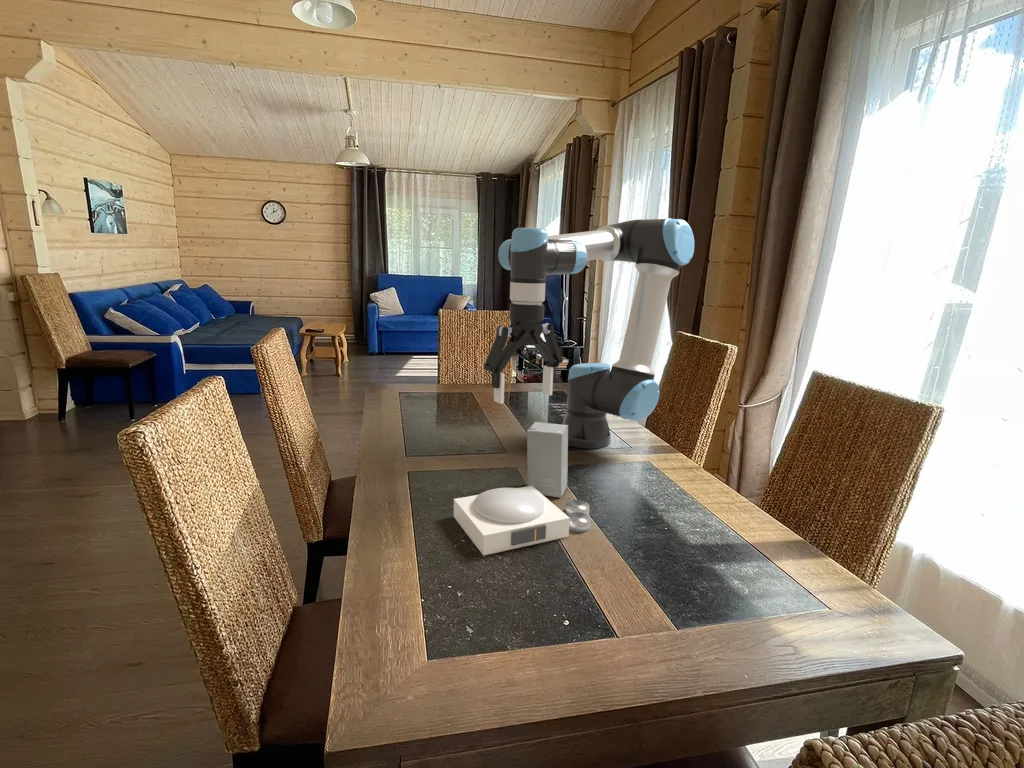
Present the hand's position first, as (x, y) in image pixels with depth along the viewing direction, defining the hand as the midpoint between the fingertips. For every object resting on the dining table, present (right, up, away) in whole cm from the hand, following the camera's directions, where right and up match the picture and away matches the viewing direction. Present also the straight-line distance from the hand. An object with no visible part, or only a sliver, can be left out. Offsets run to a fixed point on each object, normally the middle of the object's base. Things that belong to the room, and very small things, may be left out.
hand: (523, 398), depth 122 cm
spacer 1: (+11, -24, -6) cm, 28 cm away
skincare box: (+5, -22, +4) cm, 23 cm away
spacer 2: (+11, -26, -11) cm, 30 cm away
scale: (-3, -25, -13) cm, 29 cm away
